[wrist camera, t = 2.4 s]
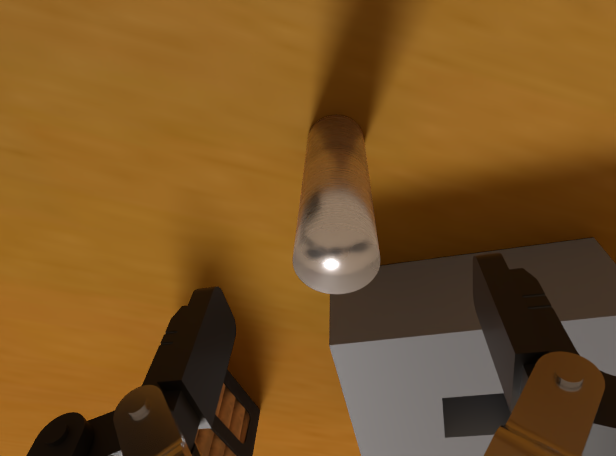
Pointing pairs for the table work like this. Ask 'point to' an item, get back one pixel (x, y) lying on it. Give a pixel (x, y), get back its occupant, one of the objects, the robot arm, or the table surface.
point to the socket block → (454, 346)
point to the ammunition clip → (231, 423)
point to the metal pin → (336, 211)
